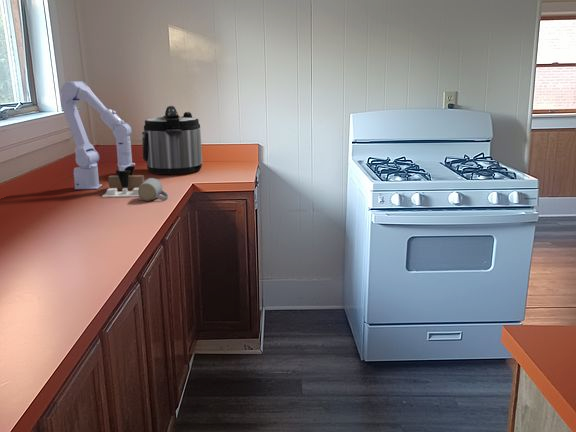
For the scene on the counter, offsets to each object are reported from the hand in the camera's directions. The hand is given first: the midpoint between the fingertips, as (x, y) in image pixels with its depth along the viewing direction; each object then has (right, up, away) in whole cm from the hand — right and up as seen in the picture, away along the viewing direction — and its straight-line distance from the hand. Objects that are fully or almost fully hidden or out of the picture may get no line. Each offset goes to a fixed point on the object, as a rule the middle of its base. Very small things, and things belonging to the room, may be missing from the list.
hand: (126, 185), depth 229 cm
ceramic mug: (+16, -7, -19) cm, 26 cm away
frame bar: (0, -2, 0) cm, 2 cm away
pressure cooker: (+11, +9, +40) cm, 42 cm away
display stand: (+3, -5, -12) cm, 13 cm away
